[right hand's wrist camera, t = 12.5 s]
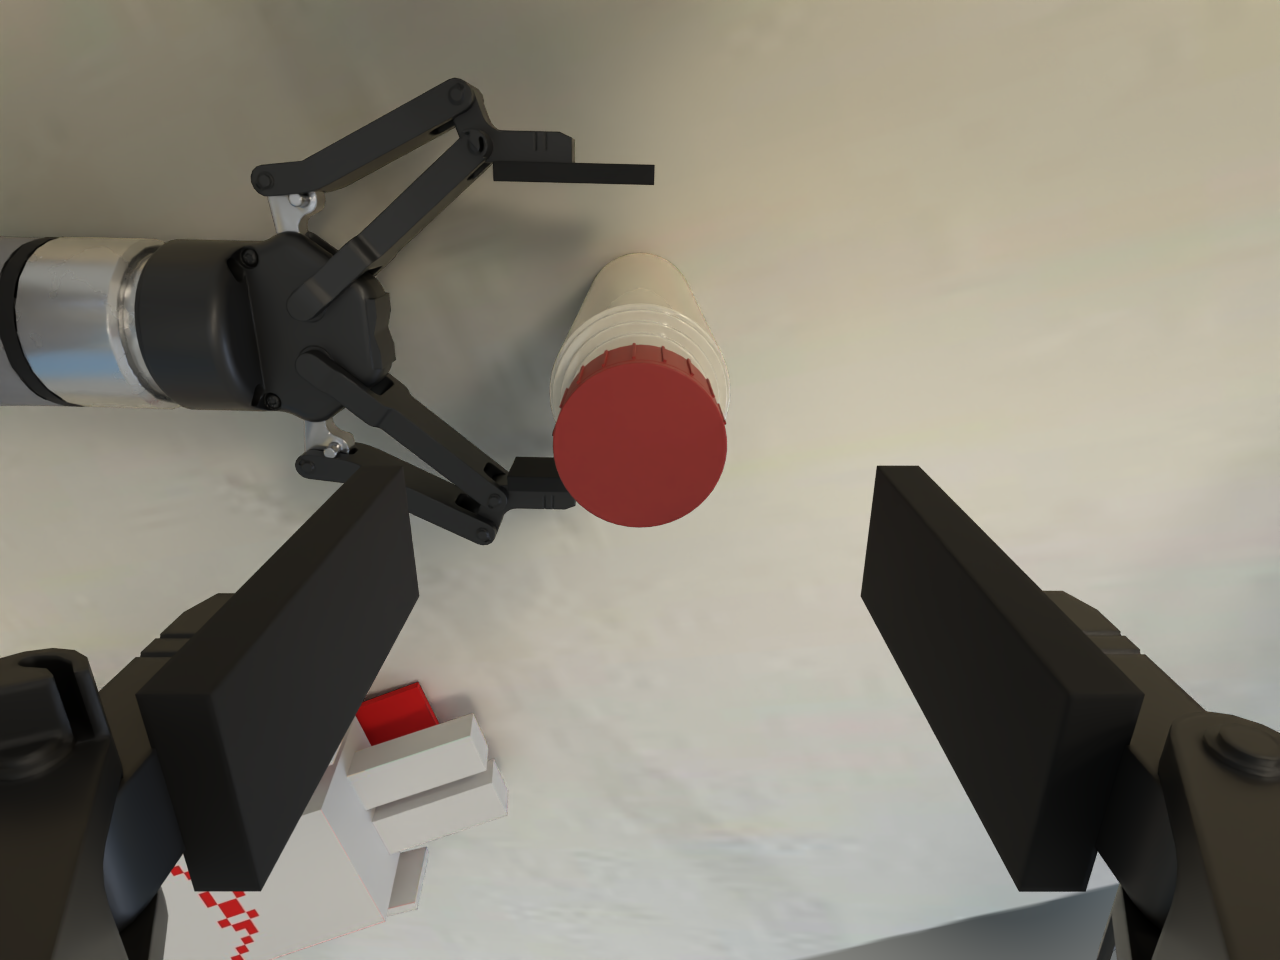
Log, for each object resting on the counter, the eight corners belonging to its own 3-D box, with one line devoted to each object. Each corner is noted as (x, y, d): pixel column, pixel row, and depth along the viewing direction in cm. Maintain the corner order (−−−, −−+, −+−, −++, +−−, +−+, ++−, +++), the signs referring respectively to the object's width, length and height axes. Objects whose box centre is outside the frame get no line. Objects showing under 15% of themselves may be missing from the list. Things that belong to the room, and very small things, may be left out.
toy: (520, 910, 42) (6, 1084, 42) (523, 753, 55) (128, 884, 54) (441, 746, 38) (-133, 935, 37) (464, 616, 51) (35, 756, 50)
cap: (734, 475, 21) (744, 507, 19) (583, 510, 22) (577, 545, 19) (701, 324, 20) (709, 341, 17) (540, 365, 20) (527, 386, 18)
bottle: (702, 345, 40) (769, 517, 20) (602, 370, 41) (564, 563, 20) (679, 240, 38) (726, 306, 18) (574, 267, 39) (499, 363, 18)
